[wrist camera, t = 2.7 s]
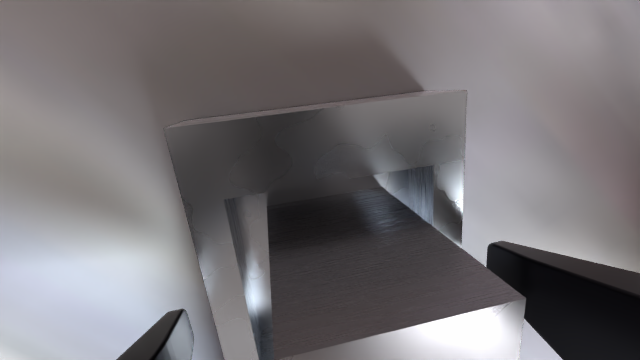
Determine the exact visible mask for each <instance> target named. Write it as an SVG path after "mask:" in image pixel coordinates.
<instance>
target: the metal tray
mask: <svg viewBox="0 0 640 360" xmlns="http://www.w3.org/2000/svg"><path fill="white" fill-rule="evenodd" d="M466 105H467V90H446V91H420V92H412V93H404V94H396V95H388V96H380V97H371V98H363V99H355V100H347V101H339V102H331V103H323V104H315V105H307V106H299V107H290V108H282V109H274V110H266V111H258V112H250V113H242V114H234V115H226V116H217V117H209V118H201V119H193V120H185V121H183V122H180V123H177V124H174V125H171V126H169V127H166V128H163V129H164V133H165V137H166V140H167V144H168V148H169V152H170V156H171V159H172V163H173V167H174V171H175V174H176V178H177V182H178V186H179V190H180V193H181V197H182V201H183V205H184V208H185V212H186V216H187V220H188V224H189V227H190V231H191V235H192V239H193V242H194V246H195V250H196V254H197V258H198V261H199V265H200V269H201V273H202V276H203V280H204V284H205V288H206V292H207V295H208V299H209V303H210V307H211V310H212V314H213V318H214V322H215V326H216V329H217V333H218V337H219V341H220V344H221V348H222V352H223V356H224V360H274V347H273V327H272V306H271V285H270V265H269V244H268V223H267V206H271V205H277V204H283V203H289V202H295V201H300V200H306V199H312V198H318V197H324V196H330V195H336V194H342V193H347V192H353V191H359V190H365V189H371V188H377V187H383V188H384V189H386V190H387V191H388V192H390V193H391V194H392V195H393V196H395V197H396V198H397V199H399V200H400V201H401V202H402V203H404V204H405V205H406V206H408V207H409V208H410V209H411V210H413V211H414V212H415V213H417V214H418V215H419V216H420V217H422V218H423V219H424V220H426V221H427V222H428V223H430V224H431V225H432V226H433V227H435V228H436V229H437V230H439V231H440V232H441V233H442V234H444V235H445V236H446V237H448V238H449V239H450V240H451V241H453V242H454V243H455V244H457V245H458V246H459V247H461V243H462V216H463V188H464V160H465V132H466Z"/></svg>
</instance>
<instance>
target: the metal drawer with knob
mask: <svg viewBox="0 0 640 360" xmlns="http://www.w3.org/2000/svg"><path fill="white" fill-rule="evenodd" d="M267 223H268V244H269V265H270V285H271V306H272V327H273V347H274V360H519V356H520V347H521V339H522V330H523V321H524V313H525V304H526V298H525V297H524V296H522V295H521V294H520V293H519V292H517V291H516V290H515V289H513V288H512V287H511V286H510V285H508V284H507V283H506V282H504V281H503V280H502V279H501V278H499V277H498V276H497V275H495V274H494V273H493V272H492V271H490V270H489V269H488V268H486V267H485V266H484V265H482V264H481V263H480V262H479V261H477V260H476V259H475V258H473V257H472V256H471V255H470V254H468V253H467V252H466V251H464V250H463V249H462V248H461V247H459V246H458V245H457V244H455V243H454V242H453V241H451V240H450V239H449V238H448V237H446V236H445V235H444V234H442V233H441V232H440V231H439V230H437V229H436V228H435V227H433V226H432V225H431V224H430V223H428V222H427V221H426V220H424V219H423V218H422V217H420V216H419V215H418V214H417V213H415V212H414V211H413V210H411V209H410V208H409V207H408V206H406V205H405V204H404V203H402V202H401V201H400V200H399V199H397V198H396V197H395V196H393V195H392V194H391V193H390V192H388V191H387V190H386V189H384V188H383V187H377V188H371V189H365V190H359V191H353V192H347V193H342V194H336V195H330V196H324V197H318V198H312V199H306V200H300V201H295V202H289V203H283V204H277V205H271V206H267Z"/></svg>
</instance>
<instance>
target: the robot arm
mask: <svg viewBox="0 0 640 360" xmlns="http://www.w3.org/2000/svg"><path fill="white" fill-rule="evenodd" d="M486 266H487V268H488V269H489V270H490V271H492V272H493V273H494V274H495V275H497V276H498V277H499V278H501V279H502V280H503V281H504V282H506V283H507V284H508V285H510V286H511V287H512V288H513V289H515V290H516V291H517V292H519V293H520V294H521V295H522V296H524V297H525V298H526V304H525V313H524V319H525V320H526V321H527V322H528V323H529V324H530V325H531V326H532V327H533V328H534V329H535V331H536V332H537V333H538V334H539V335H540V336H541V337H542V338H543V339H544V340H545V341H546V342H547V343H548V344H549V345H550V346H551V348H552V349H553V350H554V351H555V352H556V353H557V354H558V355H559V356H560V357H561V358H562V359H563V360H640V273H636V272H632V271H628V270H624V269H619V268H615V267H611V266H607V265H603V264H598V263H594V262H590V261H586V260H581V259H577V258H573V257H569V256H564V255H560V254H556V253H552V252H548V251H543V250H539V249H535V248H531V247H526V246H522V245H518V244H514V243H510V242H505V241H499V242H494V243H491V244H489V246H488V249H487V265H486ZM193 343H194V337H193V331H192V328H191V325H190V321H189V318H188V314H187V312H186V310H184V309H179V310H174V311H170V312H168V313H166V314H165V315H164V316H163V317H162V318H161V319H160V320H159V321H158V322H157V323H155V324H154V325H153V326H152V327H151V328H150V329H149V330H148V331H147V332H146V333H145V334H144V335H142V336H141V337H140V338H139V339H138V340H137V341H136V342H135V343H134V344H133V345H132V346H131V347H129V348H128V349H127V350H126V351H125V352H124V353H123V354H122V355H121V356H120V357H119V358H118V359H116V360H191V359H192V351H193Z"/></svg>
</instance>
